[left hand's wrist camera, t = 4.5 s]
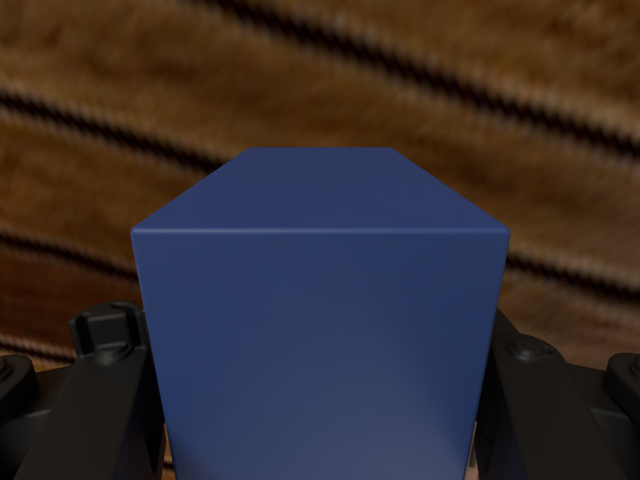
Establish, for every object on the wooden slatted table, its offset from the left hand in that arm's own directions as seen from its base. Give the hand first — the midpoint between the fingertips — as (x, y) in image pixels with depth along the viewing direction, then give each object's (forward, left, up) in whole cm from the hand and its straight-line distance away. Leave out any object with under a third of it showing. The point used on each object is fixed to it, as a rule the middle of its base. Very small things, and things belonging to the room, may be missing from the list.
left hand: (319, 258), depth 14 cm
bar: (-3, +10, -1) cm, 10 cm away
